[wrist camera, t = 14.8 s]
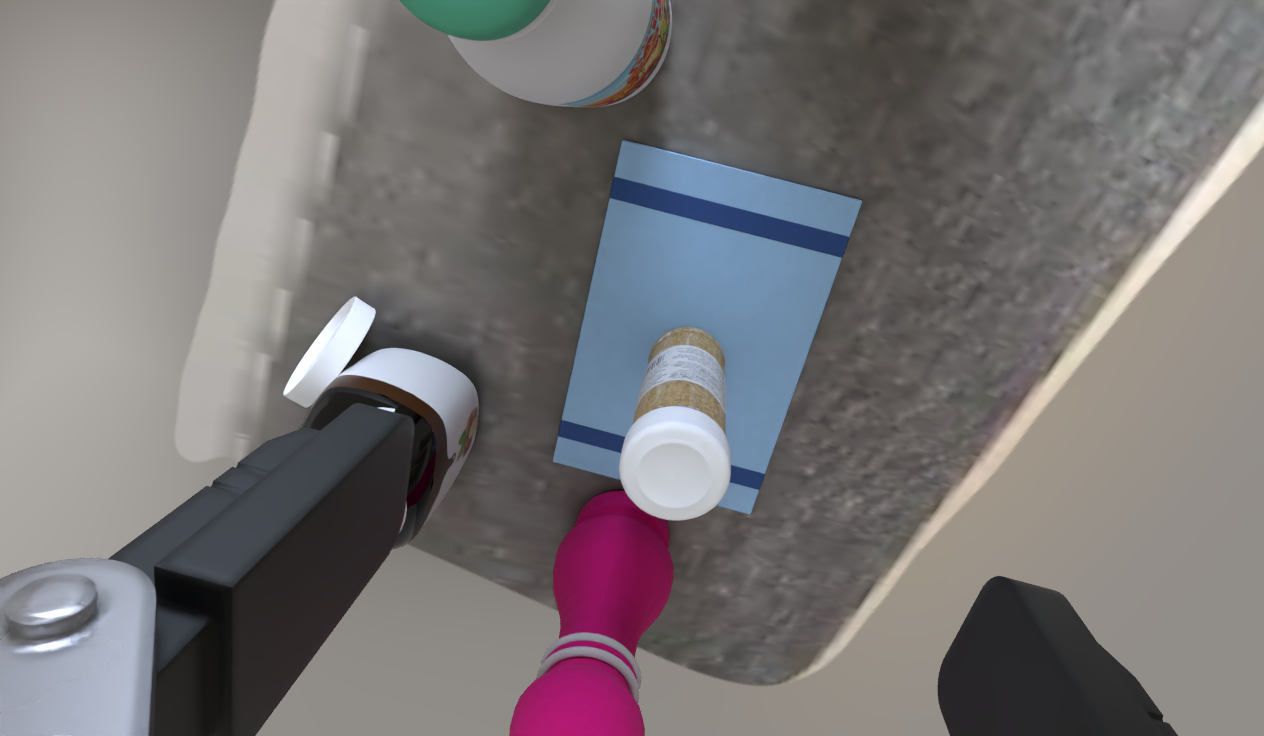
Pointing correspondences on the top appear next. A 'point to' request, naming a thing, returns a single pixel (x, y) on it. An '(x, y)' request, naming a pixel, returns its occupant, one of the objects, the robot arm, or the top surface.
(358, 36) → the top surface
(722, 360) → the sprinkles bottle
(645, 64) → the milk bottle
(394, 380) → the spread jar
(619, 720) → the pepper mill
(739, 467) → the towel
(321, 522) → the robot arm
